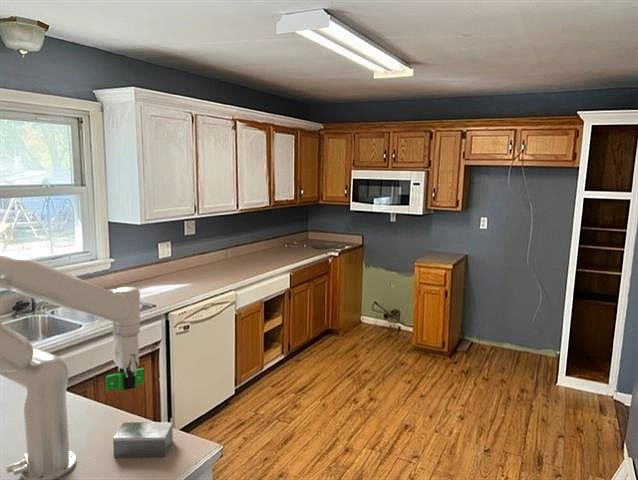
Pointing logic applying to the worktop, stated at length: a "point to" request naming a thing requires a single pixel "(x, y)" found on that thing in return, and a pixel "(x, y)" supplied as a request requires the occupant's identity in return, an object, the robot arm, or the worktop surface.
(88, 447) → the worktop surface
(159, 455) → the gray rectangular block
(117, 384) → the pipe clamp
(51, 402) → the robot arm
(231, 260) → the worktop surface
